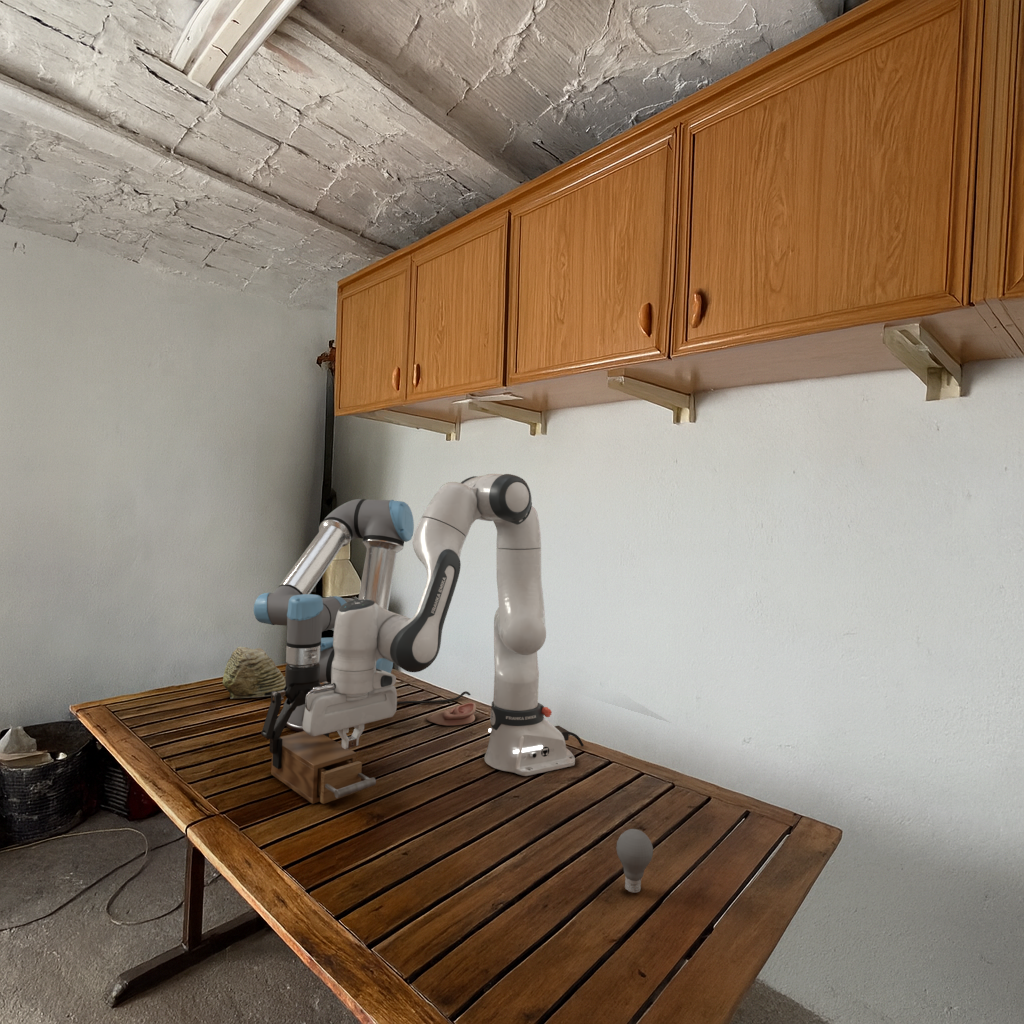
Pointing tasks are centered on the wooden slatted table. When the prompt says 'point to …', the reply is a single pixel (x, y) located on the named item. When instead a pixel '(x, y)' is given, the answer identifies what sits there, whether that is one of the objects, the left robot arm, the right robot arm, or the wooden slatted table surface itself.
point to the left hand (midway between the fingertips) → (299, 760)
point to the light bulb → (634, 857)
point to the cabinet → (308, 761)
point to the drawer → (341, 780)
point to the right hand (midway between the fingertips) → (349, 746)
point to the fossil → (252, 674)
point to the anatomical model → (455, 715)
